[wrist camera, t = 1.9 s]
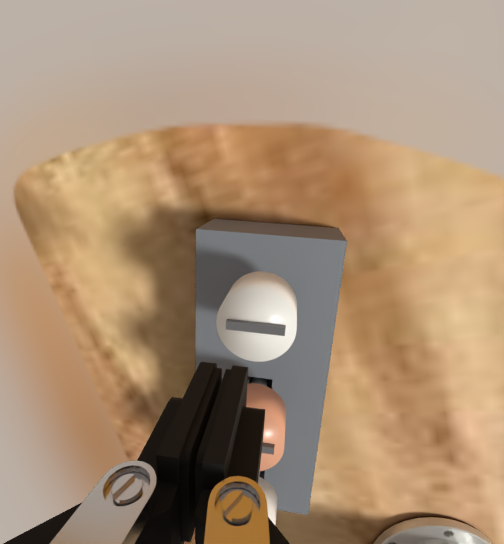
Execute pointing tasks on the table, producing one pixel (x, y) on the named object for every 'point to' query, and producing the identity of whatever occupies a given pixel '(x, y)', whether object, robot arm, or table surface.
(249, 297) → the knob near
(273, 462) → the knob middle
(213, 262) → the control rail
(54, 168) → the table surface
